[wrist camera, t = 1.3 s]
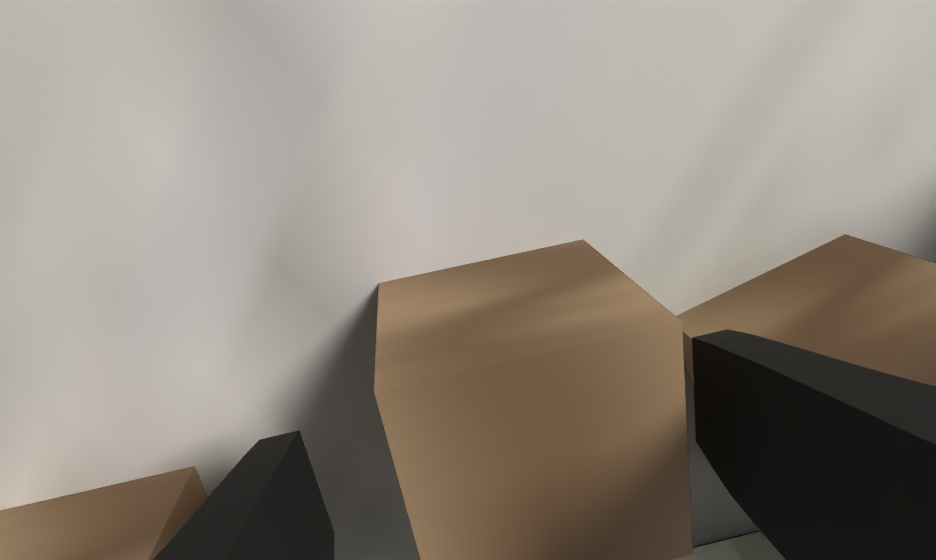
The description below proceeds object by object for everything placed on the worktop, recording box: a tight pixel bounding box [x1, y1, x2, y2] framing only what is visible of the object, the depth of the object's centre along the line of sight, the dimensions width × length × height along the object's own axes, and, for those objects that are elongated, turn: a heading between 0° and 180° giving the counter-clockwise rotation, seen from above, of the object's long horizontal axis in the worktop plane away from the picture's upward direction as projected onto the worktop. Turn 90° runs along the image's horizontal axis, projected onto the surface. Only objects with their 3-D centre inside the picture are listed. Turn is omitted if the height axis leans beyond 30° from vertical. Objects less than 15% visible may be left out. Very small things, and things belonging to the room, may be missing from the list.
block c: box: [676, 234, 936, 388], centre depth 11 cm, size 4×4×4 cm
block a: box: [374, 240, 693, 560], centre depth 10 cm, size 4×4×4 cm
